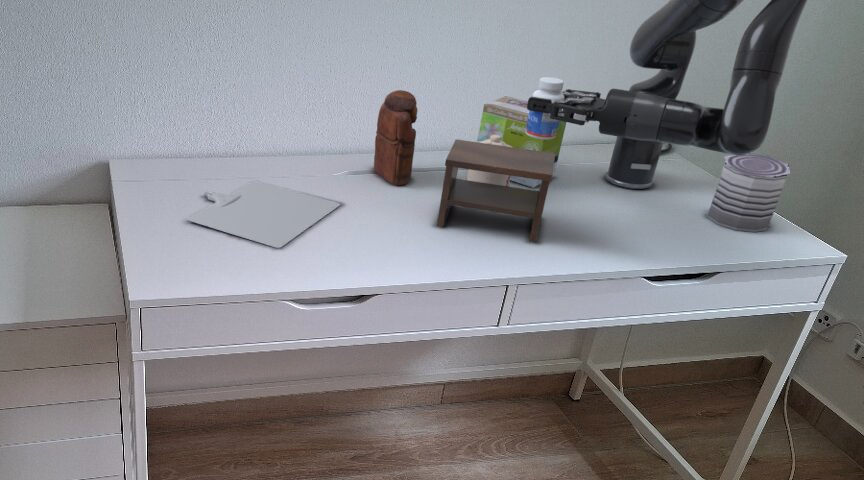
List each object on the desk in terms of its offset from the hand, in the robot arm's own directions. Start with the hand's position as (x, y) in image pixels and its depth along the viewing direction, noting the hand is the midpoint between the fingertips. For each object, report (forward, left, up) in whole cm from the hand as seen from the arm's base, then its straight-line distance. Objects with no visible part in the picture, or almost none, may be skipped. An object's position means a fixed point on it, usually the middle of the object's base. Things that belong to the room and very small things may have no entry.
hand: (532, 99), depth 151 cm
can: (-21, +43, -24) cm, 53 cm away
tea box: (-29, -1, -24) cm, 38 cm away
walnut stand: (+1, -3, -24) cm, 24 cm away
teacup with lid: (-17, -6, -24) cm, 30 cm away
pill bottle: (0, +3, -6) cm, 7 cm away
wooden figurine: (-16, -25, -24) cm, 38 cm away
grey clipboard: (+14, -45, -24) cm, 53 cm away
